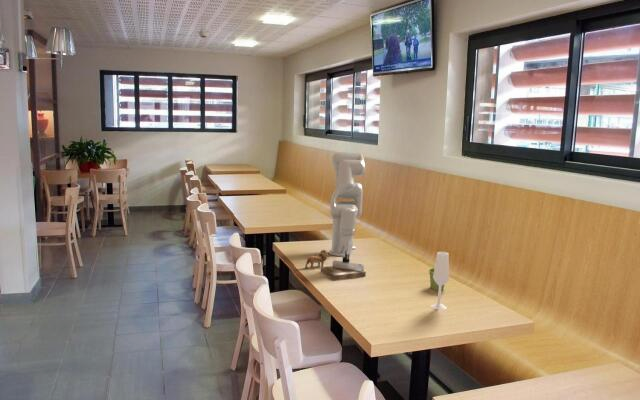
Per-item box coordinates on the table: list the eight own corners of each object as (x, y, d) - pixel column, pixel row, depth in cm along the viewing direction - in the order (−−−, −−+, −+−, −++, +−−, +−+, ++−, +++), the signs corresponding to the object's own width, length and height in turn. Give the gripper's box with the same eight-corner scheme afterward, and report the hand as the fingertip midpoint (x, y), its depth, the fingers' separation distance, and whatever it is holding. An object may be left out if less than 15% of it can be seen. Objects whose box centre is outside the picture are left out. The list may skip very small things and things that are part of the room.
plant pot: (448, 286, 248) (449, 269, 246) (446, 292, 239) (447, 275, 238) (428, 284, 251) (429, 267, 249) (426, 289, 242) (427, 272, 241)
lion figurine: (322, 264, 278) (323, 248, 276) (329, 266, 274) (330, 250, 272) (301, 268, 268) (302, 252, 267) (308, 271, 264) (309, 254, 263)
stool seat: (350, 268, 272) (350, 263, 272) (365, 276, 259) (365, 271, 258) (320, 271, 264) (320, 267, 263) (334, 280, 251) (334, 275, 250)
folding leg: (363, 270, 260) (364, 264, 259) (362, 271, 257) (362, 265, 257) (334, 265, 265) (334, 260, 265) (332, 267, 263) (332, 261, 263)
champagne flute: (449, 309, 218) (454, 255, 214) (435, 310, 216) (439, 255, 212) (441, 303, 224) (445, 250, 220) (427, 304, 222) (431, 251, 218)
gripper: (344, 227, 270) (342, 260, 273) (336, 234, 256) (334, 269, 259) (358, 229, 268) (356, 262, 271) (350, 236, 254) (348, 271, 257)
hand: (345, 265), depth 265 cm, fingers closed
